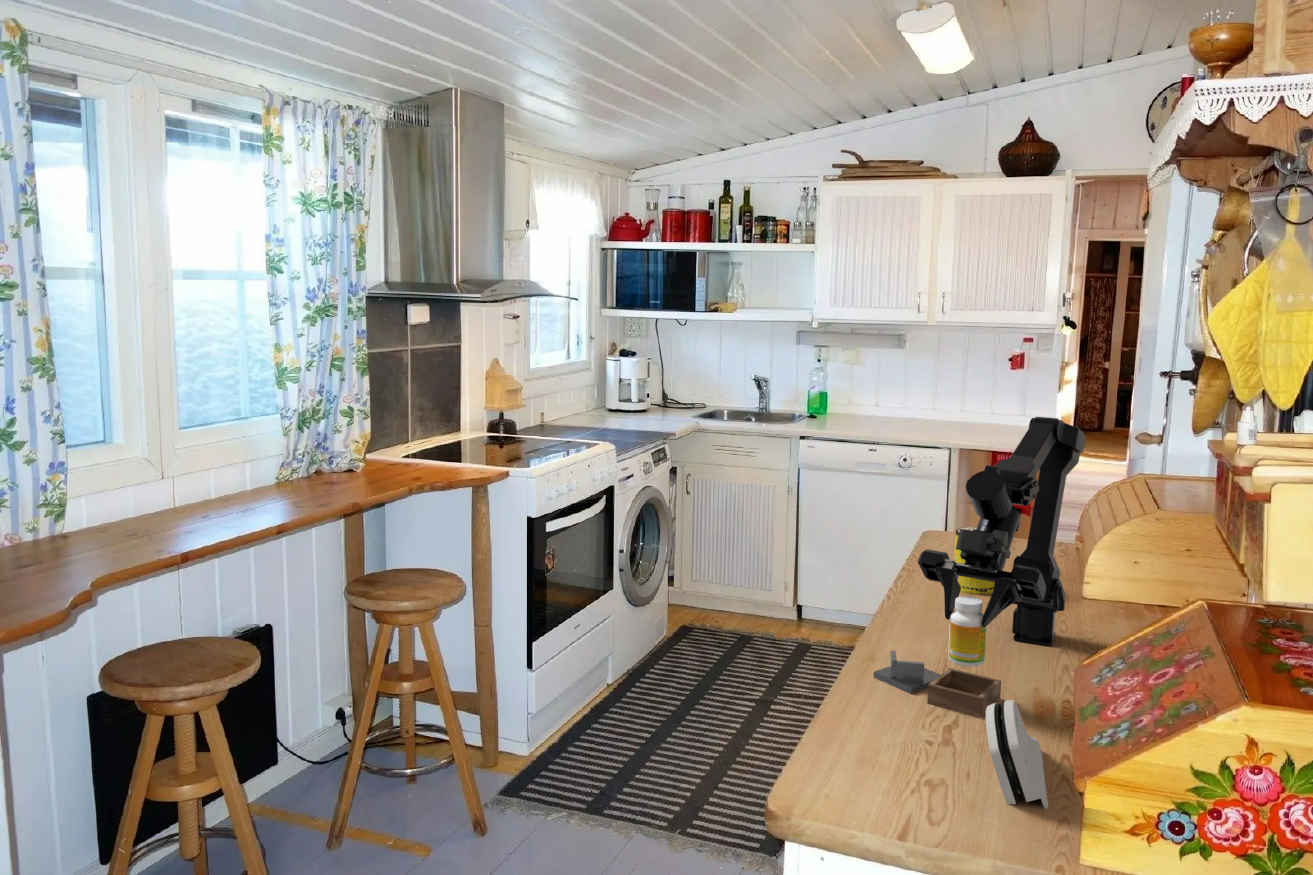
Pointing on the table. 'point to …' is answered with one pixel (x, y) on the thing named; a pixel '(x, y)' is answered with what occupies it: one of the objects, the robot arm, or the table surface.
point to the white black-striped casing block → (1015, 754)
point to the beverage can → (968, 583)
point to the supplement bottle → (967, 632)
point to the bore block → (960, 700)
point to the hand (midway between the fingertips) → (964, 622)
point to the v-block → (906, 675)
